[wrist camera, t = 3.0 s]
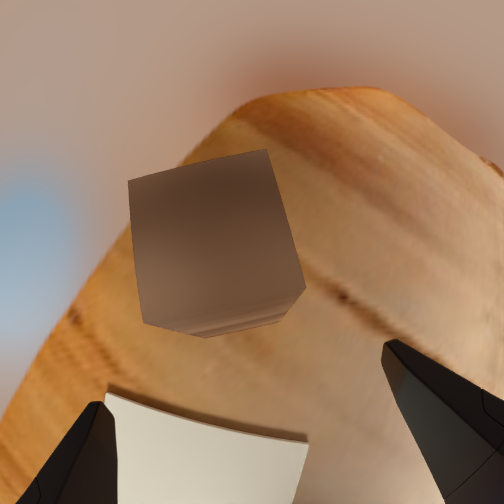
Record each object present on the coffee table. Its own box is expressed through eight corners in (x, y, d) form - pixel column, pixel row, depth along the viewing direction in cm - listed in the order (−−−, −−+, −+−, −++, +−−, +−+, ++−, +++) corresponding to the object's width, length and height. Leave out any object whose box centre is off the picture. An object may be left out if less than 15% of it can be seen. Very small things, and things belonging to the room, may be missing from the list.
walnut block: (278, 321, 21) (306, 287, 9) (204, 338, 21) (143, 322, 9) (261, 250, 22) (266, 149, 11) (190, 266, 22) (128, 180, 11)
